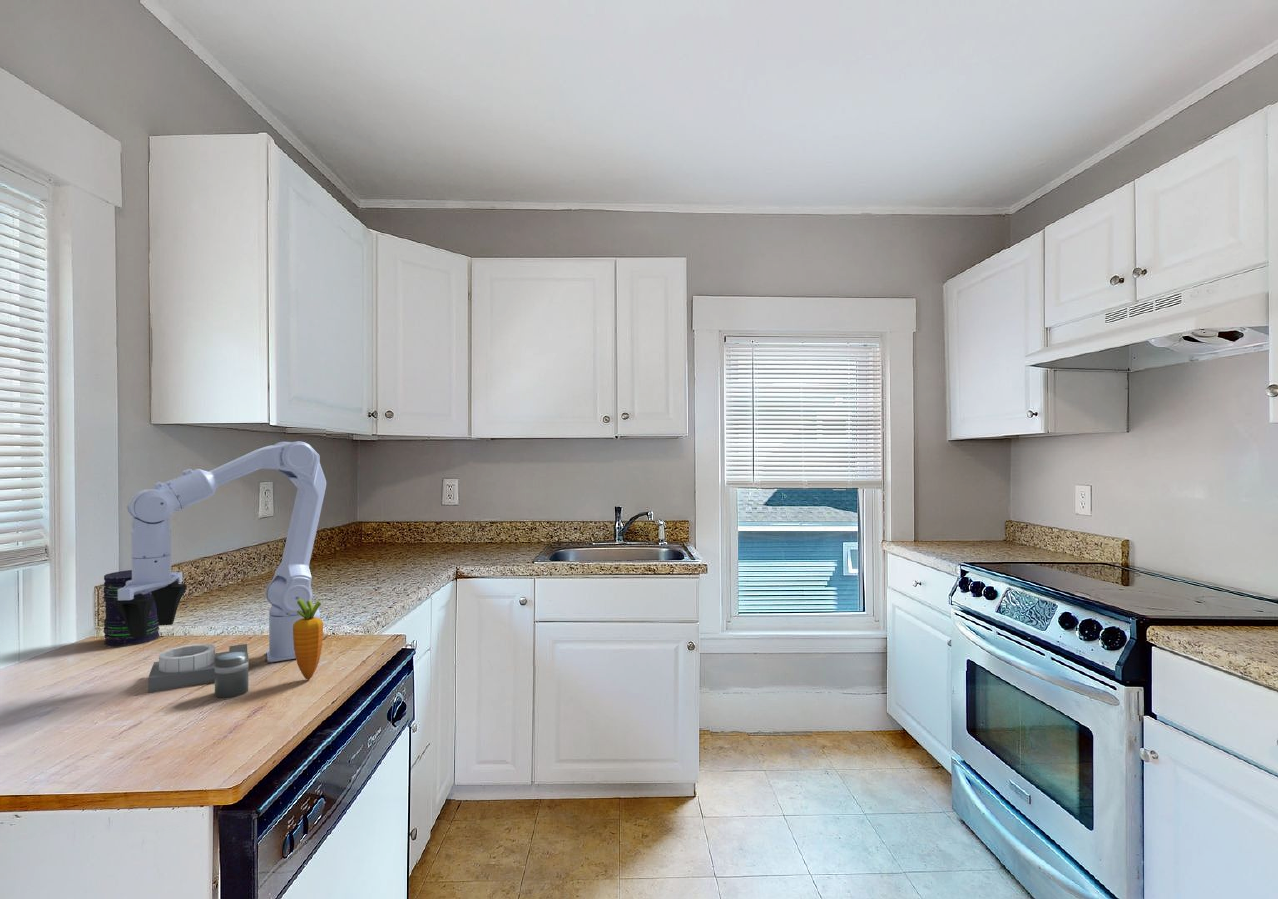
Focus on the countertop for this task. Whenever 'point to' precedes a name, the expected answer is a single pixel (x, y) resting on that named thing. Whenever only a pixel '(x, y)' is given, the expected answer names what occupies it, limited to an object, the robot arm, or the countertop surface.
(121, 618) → the storage jar
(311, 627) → the carrot
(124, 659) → the countertop surface
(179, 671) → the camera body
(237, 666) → the lens
